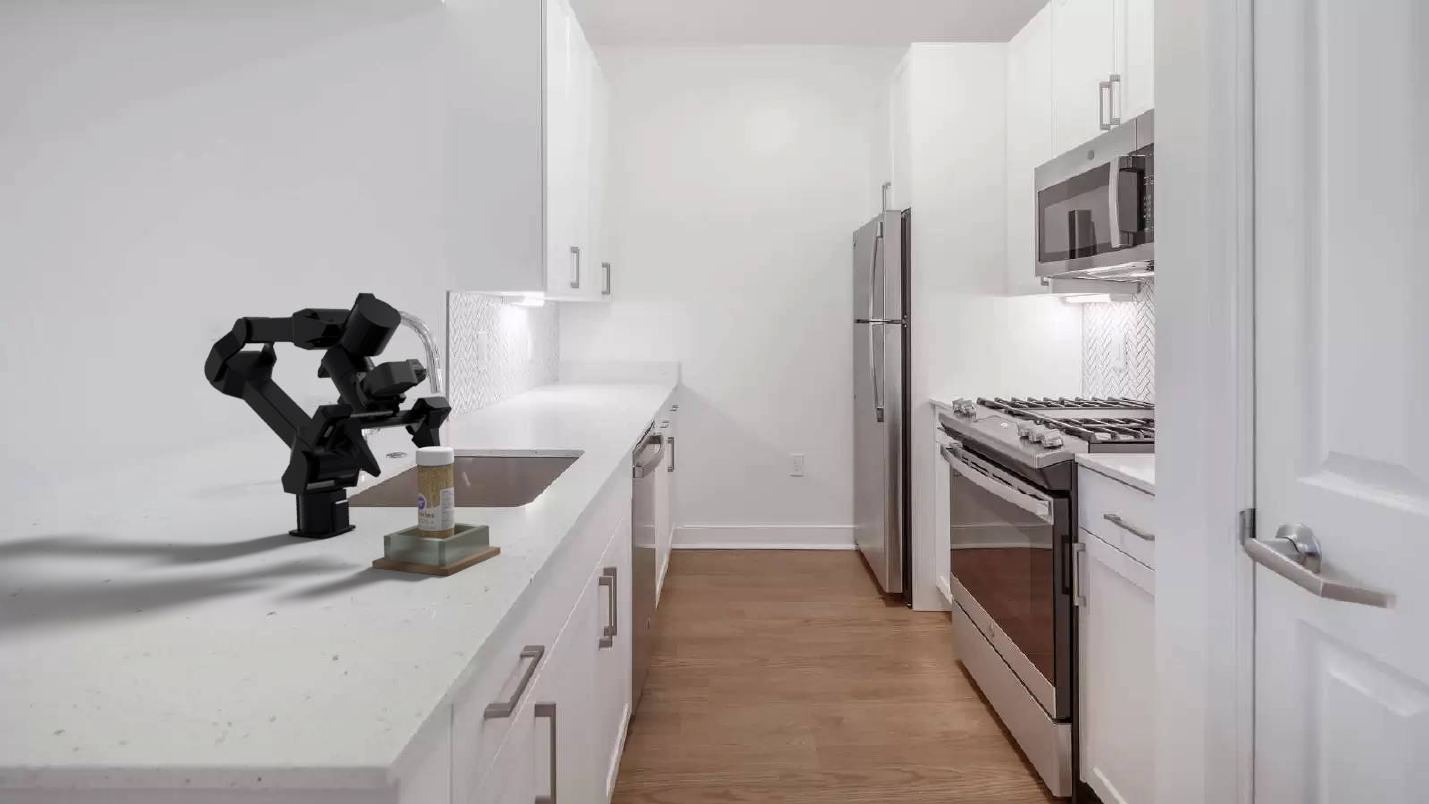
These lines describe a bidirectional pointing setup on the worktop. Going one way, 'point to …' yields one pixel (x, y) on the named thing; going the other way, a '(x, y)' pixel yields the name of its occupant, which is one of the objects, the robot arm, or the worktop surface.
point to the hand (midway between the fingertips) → (410, 470)
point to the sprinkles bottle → (435, 492)
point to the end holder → (436, 550)
